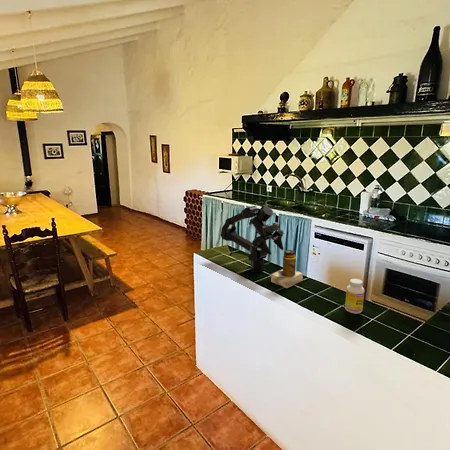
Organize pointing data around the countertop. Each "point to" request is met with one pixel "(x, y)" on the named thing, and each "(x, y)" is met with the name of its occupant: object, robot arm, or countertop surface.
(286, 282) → the wooden block
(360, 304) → the supplement bottle
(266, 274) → the countertop surface
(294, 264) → the condiment
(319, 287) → the countertop surface
